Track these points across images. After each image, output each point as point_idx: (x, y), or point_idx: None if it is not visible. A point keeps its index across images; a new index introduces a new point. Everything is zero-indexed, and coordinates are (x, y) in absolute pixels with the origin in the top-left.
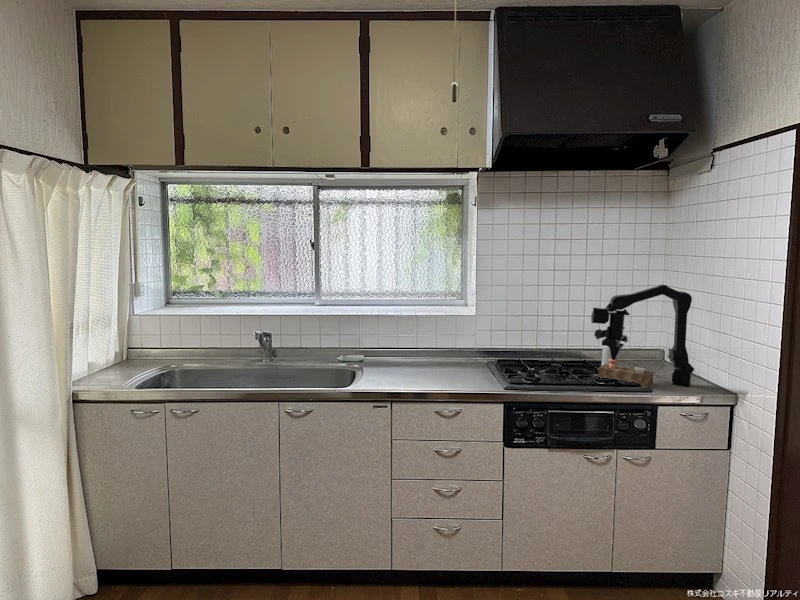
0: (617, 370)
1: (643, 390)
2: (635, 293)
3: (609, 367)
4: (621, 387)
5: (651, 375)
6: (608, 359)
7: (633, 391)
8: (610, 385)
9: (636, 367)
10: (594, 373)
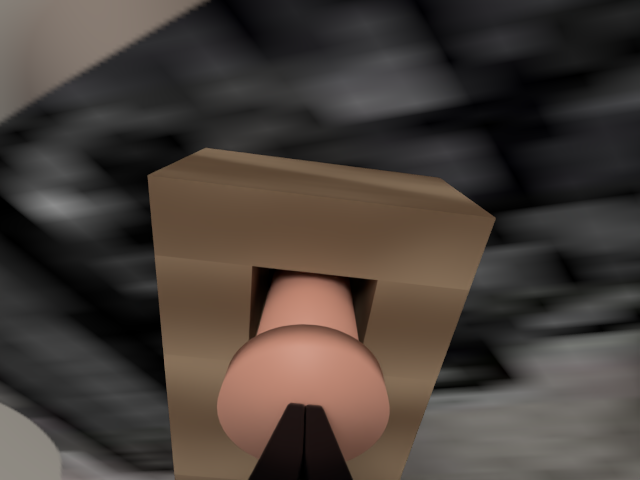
0: (177, 379)
1: (124, 444)
2: None
3: (275, 293)
4: (73, 346)
5: None
6: (264, 353)
7: (41, 408)
8: (55, 278)
9: None
10: (444, 64)
